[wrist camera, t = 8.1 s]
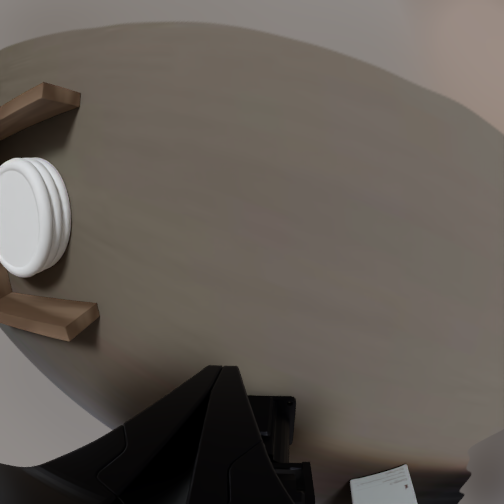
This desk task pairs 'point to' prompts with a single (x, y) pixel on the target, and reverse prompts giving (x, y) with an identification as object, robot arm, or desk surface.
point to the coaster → (32, 216)
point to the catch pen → (3, 299)
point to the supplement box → (384, 488)
